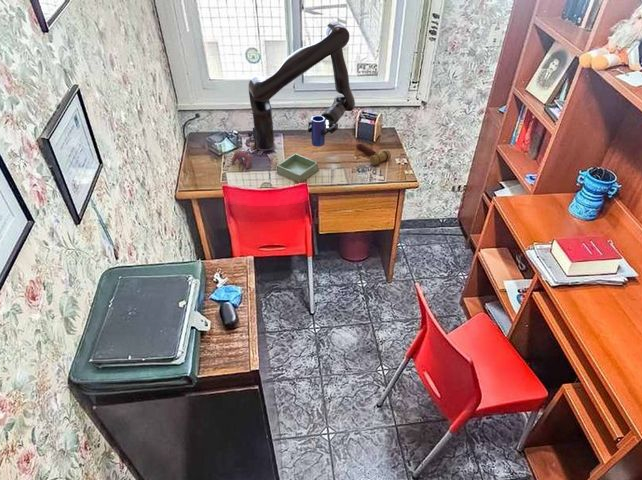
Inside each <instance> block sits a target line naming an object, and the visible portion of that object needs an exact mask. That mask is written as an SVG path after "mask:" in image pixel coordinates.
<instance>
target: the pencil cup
mask: <svg viewBox="0 0 642 480" xmlns="http://www.w3.org/2000/svg"><path fill="white" fill-rule="evenodd" d="M310 119H311V132H310V135H311V137H310V138H311V145H312V146H313V147H317V148H319V147H323V146H324V145H325V140H326V139H325V138H326V135H324V136H322V131H323V130H324V129H325V118H324V117H323V116H321V115H313V116H312V117H311V118H310Z"/></svg>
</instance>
